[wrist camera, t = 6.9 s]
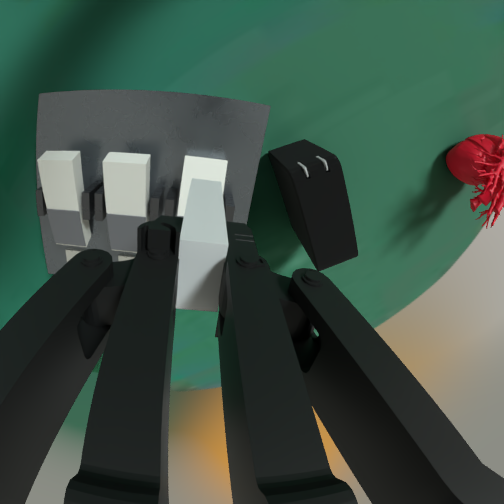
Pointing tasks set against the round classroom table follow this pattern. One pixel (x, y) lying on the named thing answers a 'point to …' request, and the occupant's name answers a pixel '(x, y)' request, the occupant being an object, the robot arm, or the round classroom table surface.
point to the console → (147, 151)
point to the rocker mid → (126, 197)
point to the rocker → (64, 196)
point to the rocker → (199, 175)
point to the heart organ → (481, 170)
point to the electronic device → (316, 201)
